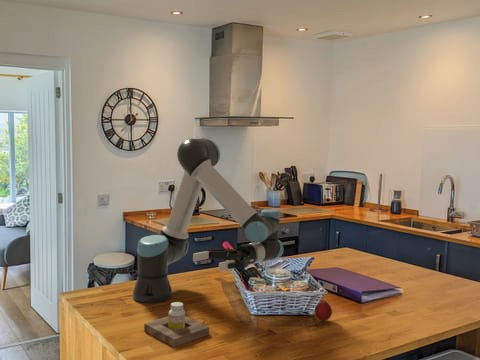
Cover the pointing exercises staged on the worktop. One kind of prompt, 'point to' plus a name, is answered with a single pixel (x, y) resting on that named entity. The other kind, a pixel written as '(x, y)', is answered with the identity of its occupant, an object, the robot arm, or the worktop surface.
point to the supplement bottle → (176, 316)
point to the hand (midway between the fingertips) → (206, 262)
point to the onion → (323, 311)
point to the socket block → (176, 337)
